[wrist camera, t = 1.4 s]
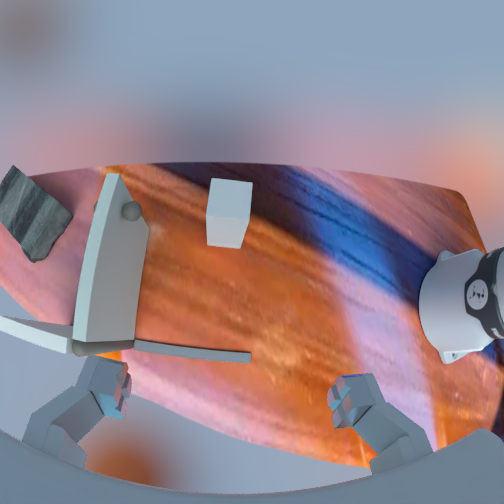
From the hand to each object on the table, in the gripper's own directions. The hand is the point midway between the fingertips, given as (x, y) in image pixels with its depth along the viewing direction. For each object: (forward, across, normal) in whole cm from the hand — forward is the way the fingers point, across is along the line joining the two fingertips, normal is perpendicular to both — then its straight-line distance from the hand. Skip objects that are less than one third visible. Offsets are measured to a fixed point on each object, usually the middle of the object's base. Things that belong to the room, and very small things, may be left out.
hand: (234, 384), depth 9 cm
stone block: (+26, +30, +7) cm, 40 cm away
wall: (+15, +7, +16) cm, 23 cm away
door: (+19, +10, +11) cm, 25 cm away
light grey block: (+25, 0, +5) cm, 26 cm away
